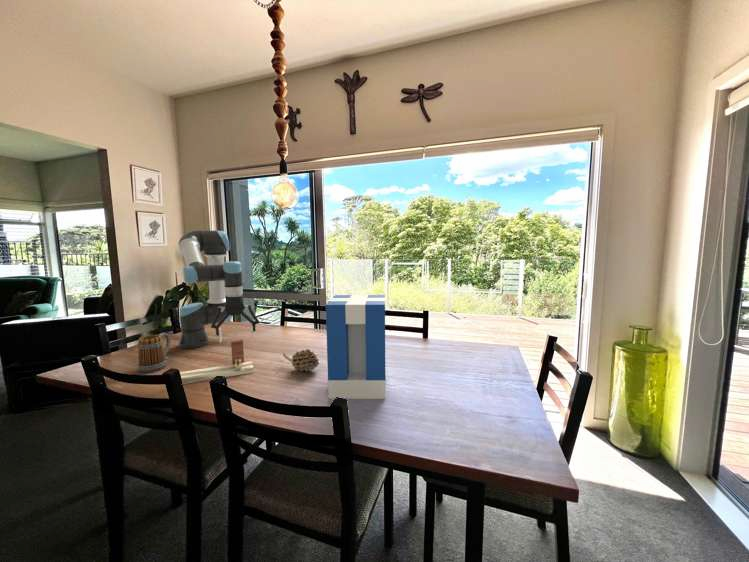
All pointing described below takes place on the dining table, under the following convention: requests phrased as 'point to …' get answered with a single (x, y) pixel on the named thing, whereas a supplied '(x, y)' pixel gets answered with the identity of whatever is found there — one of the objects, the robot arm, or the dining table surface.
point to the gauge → (237, 353)
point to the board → (215, 372)
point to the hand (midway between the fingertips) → (236, 340)
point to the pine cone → (303, 360)
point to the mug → (153, 352)
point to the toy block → (356, 346)
